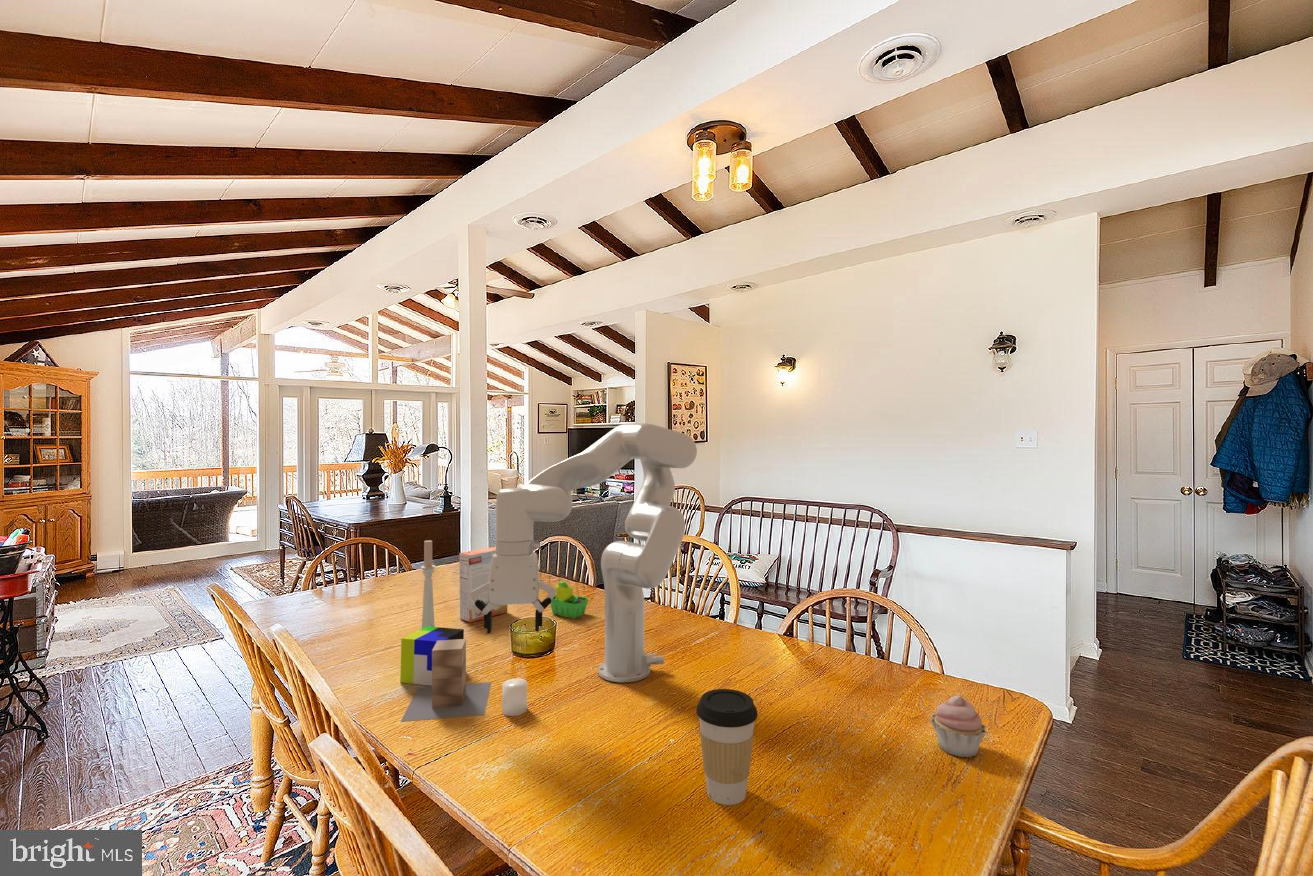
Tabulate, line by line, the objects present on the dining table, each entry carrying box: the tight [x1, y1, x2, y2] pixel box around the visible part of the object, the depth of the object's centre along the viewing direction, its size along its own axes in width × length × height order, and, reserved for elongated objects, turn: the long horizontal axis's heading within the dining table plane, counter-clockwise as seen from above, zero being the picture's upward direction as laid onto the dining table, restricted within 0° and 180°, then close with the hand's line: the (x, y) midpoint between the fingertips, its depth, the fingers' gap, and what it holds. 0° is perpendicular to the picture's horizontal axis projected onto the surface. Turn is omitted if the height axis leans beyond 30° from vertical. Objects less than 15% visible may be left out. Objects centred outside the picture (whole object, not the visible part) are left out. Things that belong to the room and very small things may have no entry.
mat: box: [400, 681, 492, 723], centre depth 126 cm, size 16×16×1 cm
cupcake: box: [930, 695, 988, 759], centre depth 108 cm, size 9×9×10 cm
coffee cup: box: [695, 688, 759, 806], centre depth 94 cm, size 10×10×15 cm
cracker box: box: [458, 546, 508, 623], centre depth 185 cm, size 14×6×21 cm, turn 140°
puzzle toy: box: [399, 626, 465, 686], centre depth 138 cm, size 10×10×10 cm
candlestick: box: [420, 539, 436, 629], centre depth 153 cm, size 13×13×30 cm
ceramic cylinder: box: [501, 677, 528, 717], centre depth 121 cm, size 5×5×6 cm
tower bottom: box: [432, 666, 467, 708], centre depth 126 cm, size 6×6×6 cm
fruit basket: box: [549, 580, 589, 619], centre depth 187 cm, size 11×9×11 cm
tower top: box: [432, 638, 467, 679], centre depth 126 cm, size 6×6×6 cm
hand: (513, 630), depth 121 cm, fingers open, 9 cm apart
